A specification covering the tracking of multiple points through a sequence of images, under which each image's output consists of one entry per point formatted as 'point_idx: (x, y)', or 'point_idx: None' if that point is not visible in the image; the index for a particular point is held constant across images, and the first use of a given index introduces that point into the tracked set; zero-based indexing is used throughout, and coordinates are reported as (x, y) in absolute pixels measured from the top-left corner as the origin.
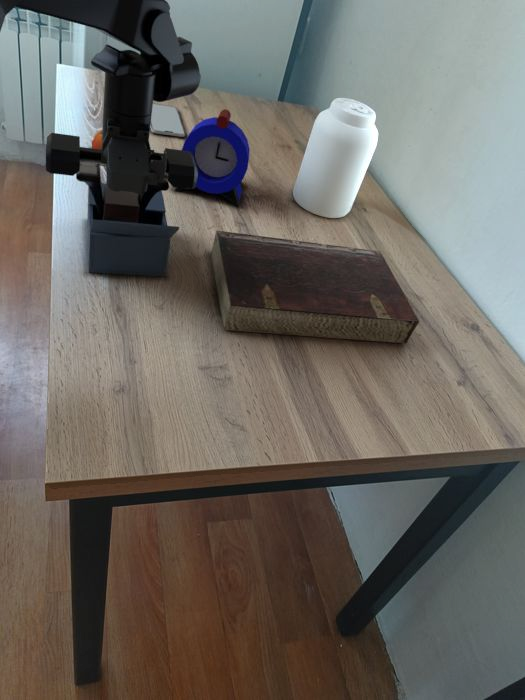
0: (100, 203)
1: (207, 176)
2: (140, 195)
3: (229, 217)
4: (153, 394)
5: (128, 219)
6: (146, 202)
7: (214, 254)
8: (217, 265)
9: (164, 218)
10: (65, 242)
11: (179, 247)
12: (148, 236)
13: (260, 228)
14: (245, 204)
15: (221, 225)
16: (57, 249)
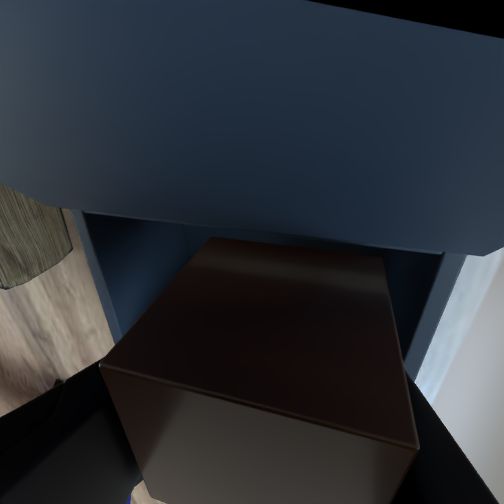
0: (420, 445)
1: None
2: (99, 463)
3: (64, 356)
4: None
5: (223, 293)
6: (59, 398)
7: (40, 228)
8: None
9: (115, 333)
10: (447, 315)
11: None
12: None
13: (7, 322)
14: (47, 382)
15: (73, 337)
16: (487, 287)
